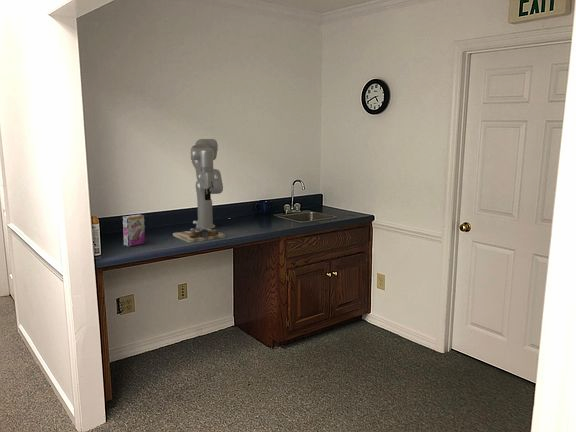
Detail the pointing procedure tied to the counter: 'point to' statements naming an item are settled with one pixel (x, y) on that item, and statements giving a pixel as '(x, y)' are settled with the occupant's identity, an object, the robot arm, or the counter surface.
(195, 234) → the lever
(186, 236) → the board
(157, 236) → the counter surface
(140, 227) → the candy bar box
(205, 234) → the keeper
